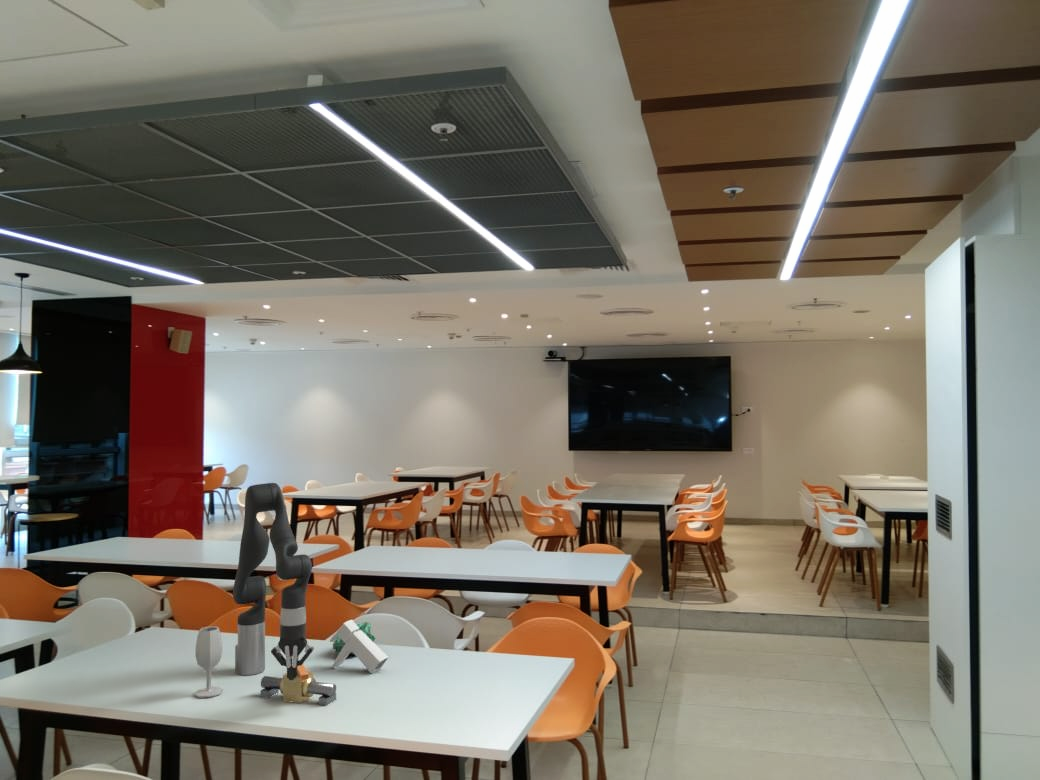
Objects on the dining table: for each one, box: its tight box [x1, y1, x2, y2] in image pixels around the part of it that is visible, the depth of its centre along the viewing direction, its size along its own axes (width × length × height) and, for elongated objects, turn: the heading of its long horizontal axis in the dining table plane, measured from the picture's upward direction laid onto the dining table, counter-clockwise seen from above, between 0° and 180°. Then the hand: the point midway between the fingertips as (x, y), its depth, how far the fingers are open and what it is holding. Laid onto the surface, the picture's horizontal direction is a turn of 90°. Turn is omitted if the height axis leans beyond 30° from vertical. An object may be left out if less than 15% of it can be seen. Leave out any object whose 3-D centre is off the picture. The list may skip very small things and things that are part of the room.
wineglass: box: [194, 625, 224, 699], centre depth 245 cm, size 9×9×21 cm
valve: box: [260, 670, 337, 706], centre depth 239 cm, size 26×6×8 cm, turn 70°
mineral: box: [332, 621, 376, 655], centre depth 288 cm, size 18×16×10 cm
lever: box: [297, 663, 309, 681], centre depth 233 cm, size 17×3×4 cm, turn 24°
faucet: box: [329, 619, 389, 674], centre depth 268 cm, size 6×16×20 cm
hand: (292, 679), depth 227 cm, fingers closed
